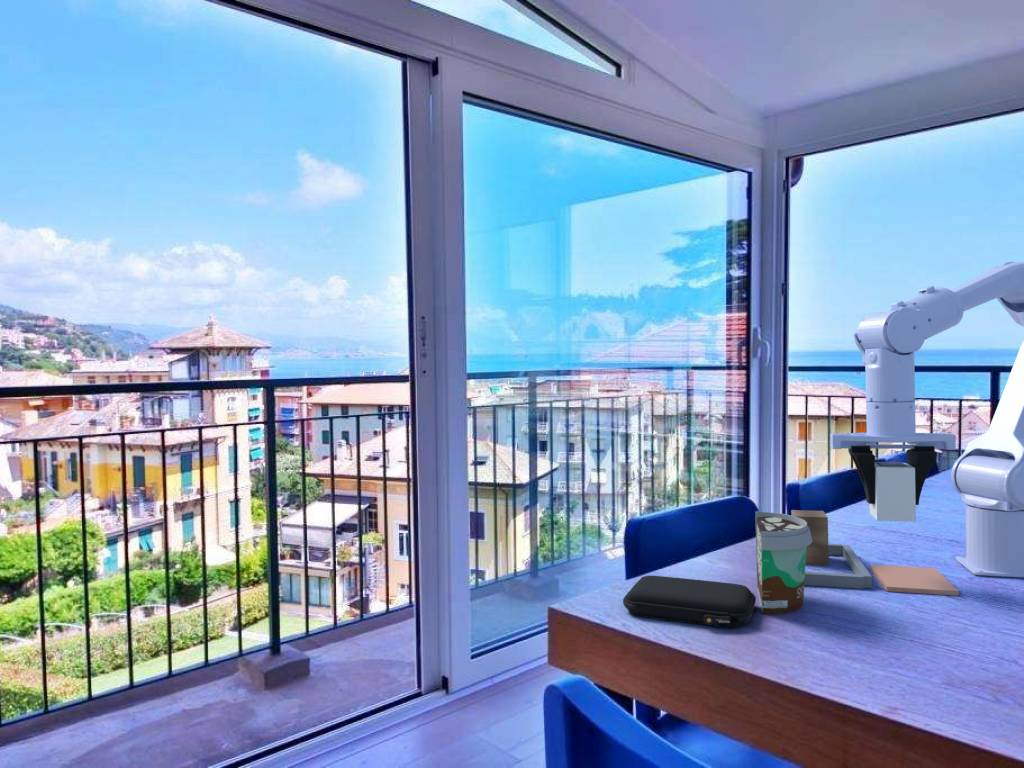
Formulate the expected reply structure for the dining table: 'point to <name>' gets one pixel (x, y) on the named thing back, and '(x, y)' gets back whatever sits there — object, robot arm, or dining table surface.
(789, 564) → the food container
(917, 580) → the terracotta mat
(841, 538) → the dining table surface
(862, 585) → the grey rectangular frame
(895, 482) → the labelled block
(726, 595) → the carrying case or bag
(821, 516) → the walnut block
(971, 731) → the dining table surface
